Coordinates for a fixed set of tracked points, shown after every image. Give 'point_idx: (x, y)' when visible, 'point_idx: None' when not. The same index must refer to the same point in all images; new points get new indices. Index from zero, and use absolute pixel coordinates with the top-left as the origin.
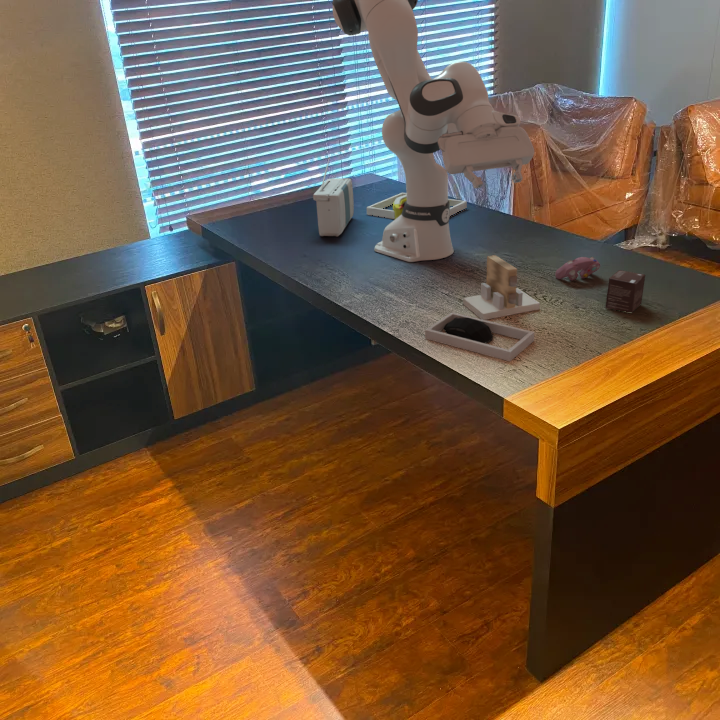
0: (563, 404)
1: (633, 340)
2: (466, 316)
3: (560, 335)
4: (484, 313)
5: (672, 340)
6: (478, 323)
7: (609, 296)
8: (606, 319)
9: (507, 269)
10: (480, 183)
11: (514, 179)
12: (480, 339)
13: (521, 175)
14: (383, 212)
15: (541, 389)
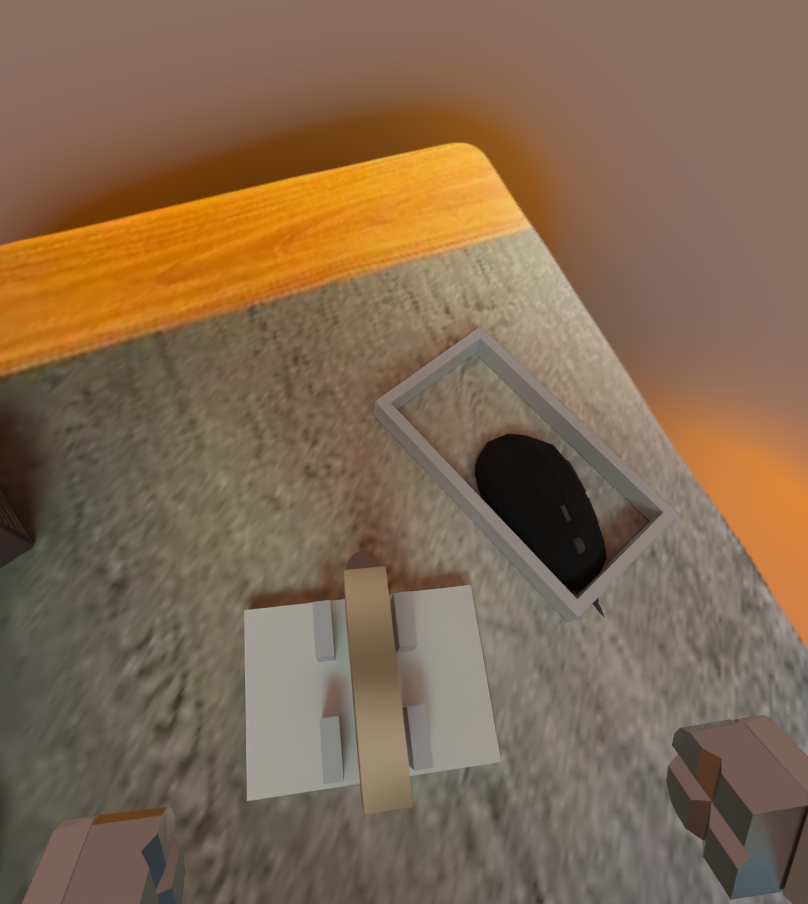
0: (435, 181)
1: (125, 338)
2: (536, 565)
3: (288, 421)
4: (465, 587)
5: (33, 308)
6: (525, 468)
7: (6, 523)
8: (95, 470)
9: (386, 578)
10: (716, 727)
11: (167, 885)
12: (523, 437)
13: (54, 851)
14: None
15: (453, 230)
